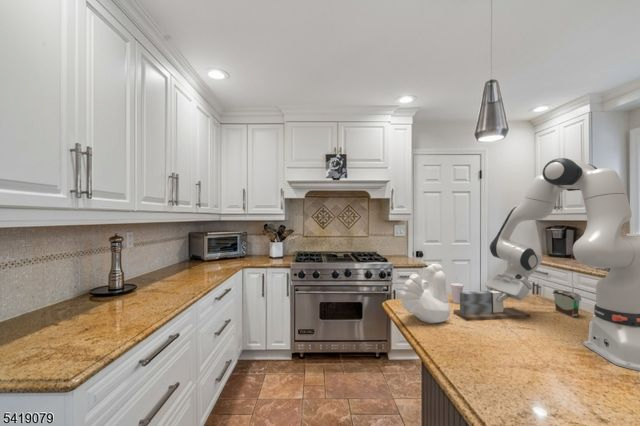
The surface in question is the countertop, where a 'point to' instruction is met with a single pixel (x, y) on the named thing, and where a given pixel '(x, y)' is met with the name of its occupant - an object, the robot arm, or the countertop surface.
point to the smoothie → (456, 291)
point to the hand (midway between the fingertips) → (494, 300)
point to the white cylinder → (497, 305)
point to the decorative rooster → (427, 295)
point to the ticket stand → (484, 308)
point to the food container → (567, 302)
